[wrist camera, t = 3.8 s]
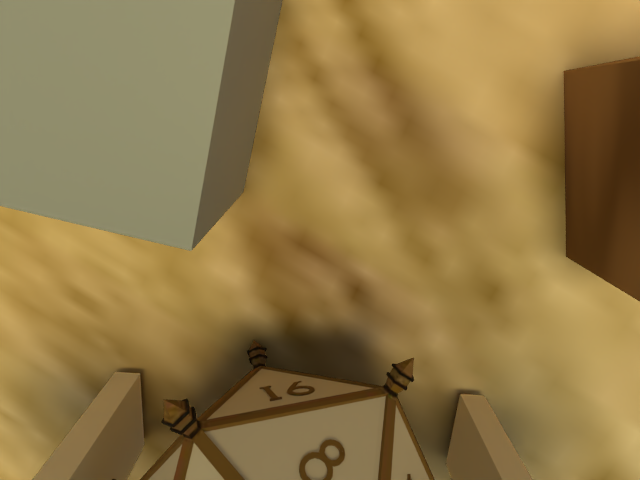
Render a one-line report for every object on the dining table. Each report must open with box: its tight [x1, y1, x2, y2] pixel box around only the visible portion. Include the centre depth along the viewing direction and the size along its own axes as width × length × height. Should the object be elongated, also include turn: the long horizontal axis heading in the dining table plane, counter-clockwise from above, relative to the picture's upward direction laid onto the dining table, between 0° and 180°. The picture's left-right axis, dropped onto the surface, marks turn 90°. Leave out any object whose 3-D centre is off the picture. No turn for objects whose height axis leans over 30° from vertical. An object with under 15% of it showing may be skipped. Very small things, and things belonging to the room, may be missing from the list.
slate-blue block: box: [0, 0, 282, 251], centre depth 8 cm, size 5×5×5 cm
